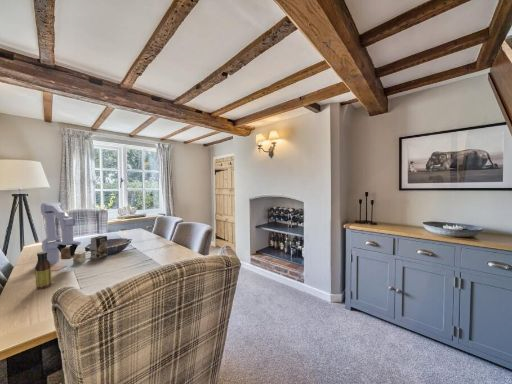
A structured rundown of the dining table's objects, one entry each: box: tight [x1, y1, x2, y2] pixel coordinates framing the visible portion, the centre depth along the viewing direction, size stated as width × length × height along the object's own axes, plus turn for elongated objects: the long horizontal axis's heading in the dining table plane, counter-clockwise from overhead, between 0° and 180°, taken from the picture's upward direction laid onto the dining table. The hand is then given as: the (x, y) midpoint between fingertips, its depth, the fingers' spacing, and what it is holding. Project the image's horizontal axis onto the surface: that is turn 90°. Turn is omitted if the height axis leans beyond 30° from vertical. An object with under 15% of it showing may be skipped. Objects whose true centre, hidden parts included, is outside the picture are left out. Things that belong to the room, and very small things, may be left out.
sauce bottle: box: [34, 251, 52, 290], centre depth 120 cm, size 6×6×20 cm
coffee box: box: [90, 235, 108, 260], centre depth 169 cm, size 9×6×16 cm
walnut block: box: [60, 246, 75, 260], centre depth 145 cm, size 5×5×7 cm
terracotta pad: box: [50, 265, 66, 271], centre depth 145 cm, size 8×8×1 cm
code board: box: [51, 259, 91, 273], centre depth 150 cm, size 17×22×1 cm
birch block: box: [72, 251, 86, 264], centre depth 156 cm, size 5×5×7 cm
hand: (68, 255), depth 145 cm, fingers closed on walnut block, 5 cm apart
